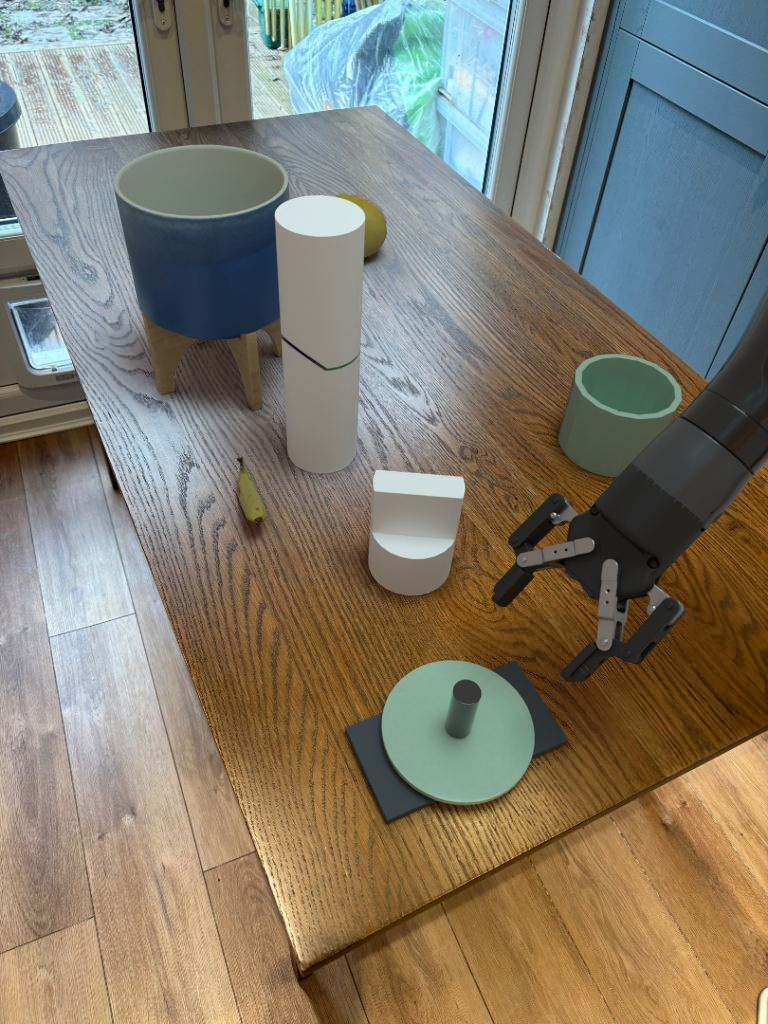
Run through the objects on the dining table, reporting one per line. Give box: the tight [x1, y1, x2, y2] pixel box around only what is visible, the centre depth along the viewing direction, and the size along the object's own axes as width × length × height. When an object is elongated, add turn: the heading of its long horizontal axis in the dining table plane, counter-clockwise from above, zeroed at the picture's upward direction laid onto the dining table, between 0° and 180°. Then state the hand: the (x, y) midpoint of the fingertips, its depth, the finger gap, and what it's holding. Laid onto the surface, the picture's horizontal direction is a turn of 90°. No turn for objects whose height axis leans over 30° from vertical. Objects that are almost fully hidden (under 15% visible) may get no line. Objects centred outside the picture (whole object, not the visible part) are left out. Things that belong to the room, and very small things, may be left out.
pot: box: [557, 353, 683, 479], centre depth 93 cm, size 13×13×10 cm
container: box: [275, 194, 365, 475], centre depth 82 cm, size 9×9×30 cm
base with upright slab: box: [367, 469, 466, 597], centre depth 77 cm, size 9×9×12 cm
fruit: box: [334, 192, 388, 258], centre depth 124 cm, size 10×11×10 cm
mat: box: [344, 660, 569, 824], centre depth 67 cm, size 18×9×1 cm, turn 115°
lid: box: [381, 659, 535, 806], centre depth 65 cm, size 14×14×7 cm
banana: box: [236, 456, 267, 524], centre depth 84 cm, size 10×2×4 cm, turn 19°
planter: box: [113, 144, 290, 411], centre depth 93 cm, size 19×19×26 cm
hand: (530, 640), depth 61 cm, fingers open, 8 cm apart
